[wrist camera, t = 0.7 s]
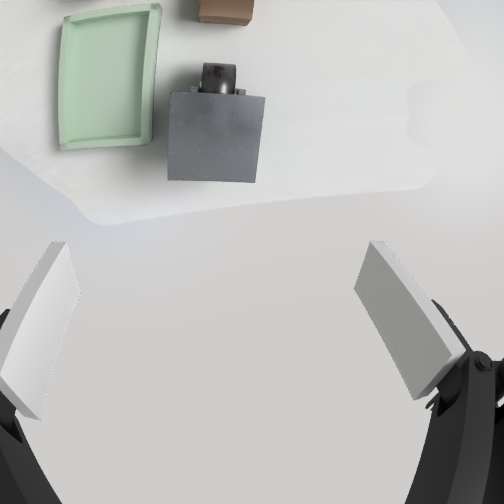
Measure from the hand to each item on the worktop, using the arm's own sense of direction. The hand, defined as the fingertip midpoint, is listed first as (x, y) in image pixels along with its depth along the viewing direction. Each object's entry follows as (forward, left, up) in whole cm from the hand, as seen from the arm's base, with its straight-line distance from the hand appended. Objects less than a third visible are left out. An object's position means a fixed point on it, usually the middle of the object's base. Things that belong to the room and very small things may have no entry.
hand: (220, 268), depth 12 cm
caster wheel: (-3, 0, -24) cm, 24 cm away
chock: (-16, 0, -24) cm, 29 cm away
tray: (-8, -12, -24) cm, 28 cm away
